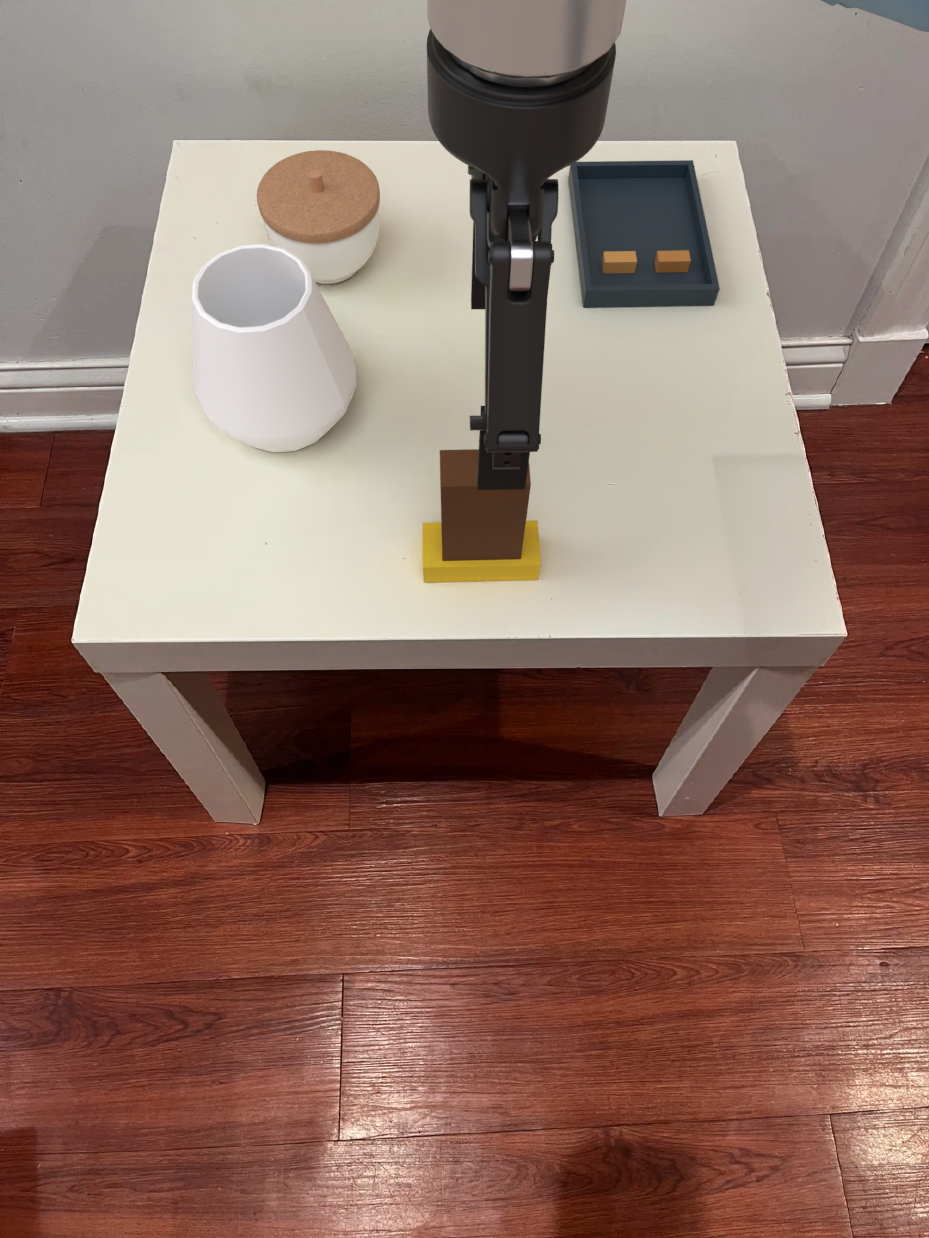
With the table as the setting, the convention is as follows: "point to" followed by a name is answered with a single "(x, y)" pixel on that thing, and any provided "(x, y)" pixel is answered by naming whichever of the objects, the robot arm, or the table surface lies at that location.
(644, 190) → the tray
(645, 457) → the table surface
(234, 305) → the white vase
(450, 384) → the table surface
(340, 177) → the trinket box
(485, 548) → the brush
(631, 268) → the crumb
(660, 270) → the crumb
